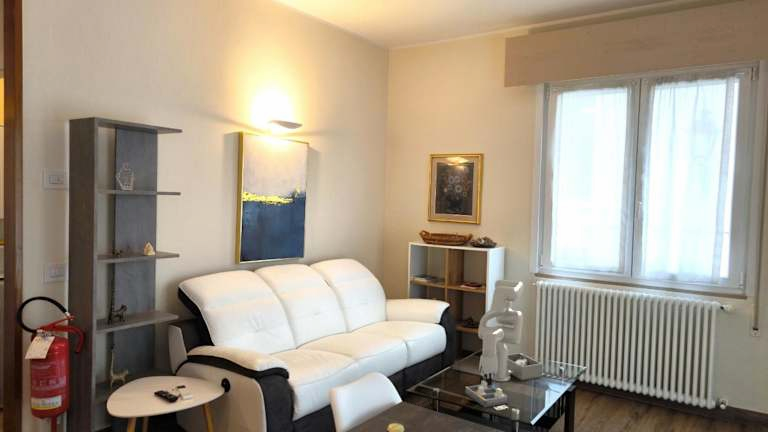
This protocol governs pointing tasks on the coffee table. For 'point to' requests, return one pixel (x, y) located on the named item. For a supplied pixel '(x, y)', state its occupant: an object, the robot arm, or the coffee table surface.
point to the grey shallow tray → (486, 396)
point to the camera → (522, 361)
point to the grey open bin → (524, 367)
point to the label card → (500, 407)
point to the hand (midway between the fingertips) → (488, 384)
